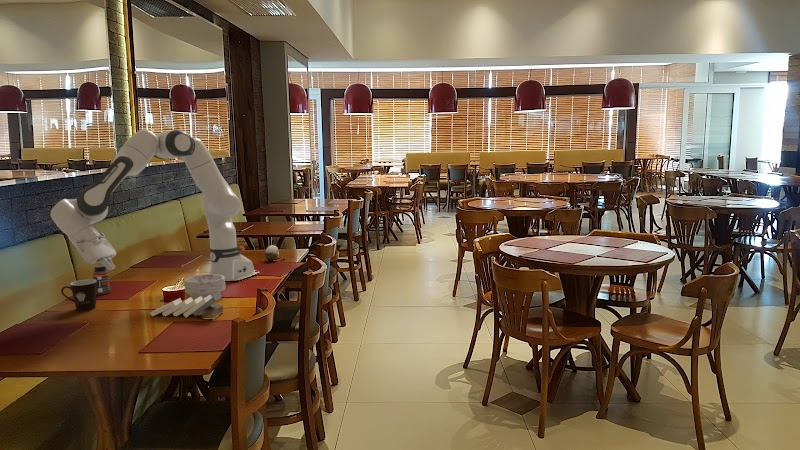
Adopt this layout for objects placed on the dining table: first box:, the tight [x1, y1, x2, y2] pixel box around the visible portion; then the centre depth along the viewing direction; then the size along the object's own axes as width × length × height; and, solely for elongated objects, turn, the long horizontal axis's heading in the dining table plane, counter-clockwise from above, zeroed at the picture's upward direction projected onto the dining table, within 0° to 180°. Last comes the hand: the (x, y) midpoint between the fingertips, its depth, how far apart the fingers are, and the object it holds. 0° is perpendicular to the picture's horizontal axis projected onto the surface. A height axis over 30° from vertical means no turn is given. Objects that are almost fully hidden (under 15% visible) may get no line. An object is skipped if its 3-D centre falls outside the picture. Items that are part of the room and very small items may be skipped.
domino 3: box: [172, 296, 203, 317], centre depth 212 cm, size 2×5×10 cm
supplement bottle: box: [92, 264, 111, 296], centre depth 243 cm, size 6×6×11 cm
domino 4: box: [182, 295, 213, 318], centre depth 211 cm, size 2×5×10 cm
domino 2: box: [161, 296, 194, 317], centre depth 212 cm, size 2×5×10 cm
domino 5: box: [192, 293, 223, 317], centre depth 210 cm, size 2×5×10 cm
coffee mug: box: [61, 279, 97, 312], centre depth 222 cm, size 12×9×10 cm
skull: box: [264, 245, 285, 261], centre depth 301 cm, size 12×10×10 cm
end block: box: [201, 304, 224, 319], centre depth 210 cm, size 4×8×3 cm, turn 171°
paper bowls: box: [183, 273, 226, 300], centre depth 234 cm, size 15×15×8 cm
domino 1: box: [149, 297, 183, 317], centre depth 213 cm, size 2×5×10 cm
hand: (112, 269), depth 216 cm, fingers closed
